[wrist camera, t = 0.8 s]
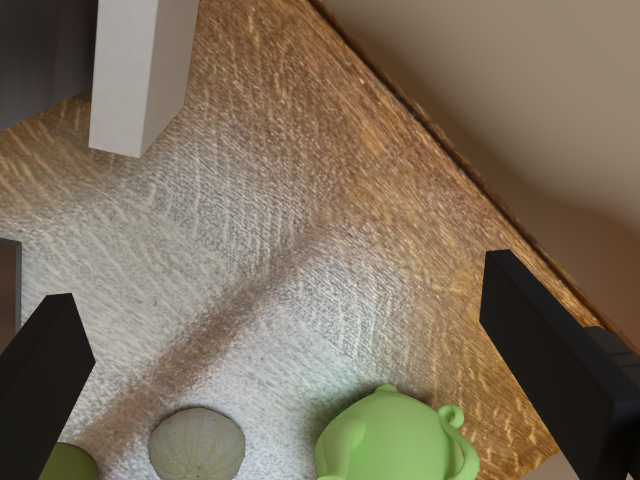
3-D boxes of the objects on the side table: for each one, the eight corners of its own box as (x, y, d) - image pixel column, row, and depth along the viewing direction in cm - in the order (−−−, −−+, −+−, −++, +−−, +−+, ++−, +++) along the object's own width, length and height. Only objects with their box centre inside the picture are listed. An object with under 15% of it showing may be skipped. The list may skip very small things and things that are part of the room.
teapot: (287, 468, 53) (290, 597, 41) (307, 366, 47) (317, 483, 35) (429, 475, 55) (469, 597, 44) (466, 378, 49) (523, 491, 38)
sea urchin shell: (197, 394, 44) (231, 482, 42) (238, 388, 52) (270, 462, 49) (121, 440, 46) (149, 527, 43) (171, 427, 53) (198, 501, 51)
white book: (166, -42, 31) (102, -67, 20) (204, -31, 32) (164, -49, 20) (149, 98, 35) (87, 147, 23) (183, 107, 35) (139, 159, 24)
